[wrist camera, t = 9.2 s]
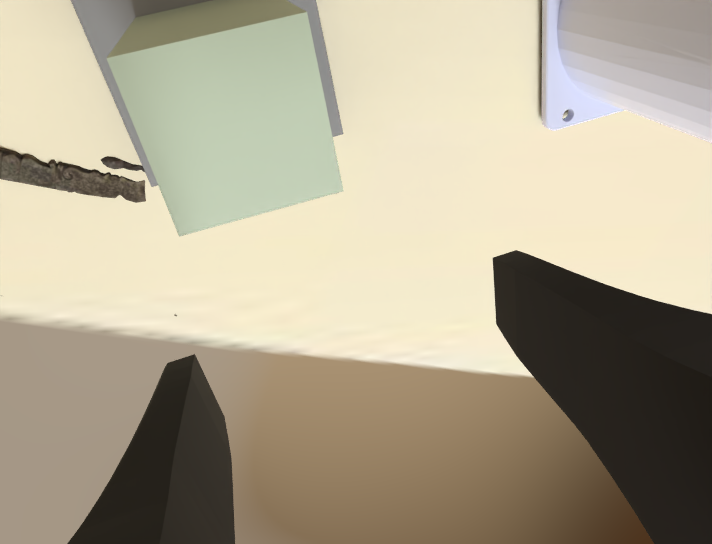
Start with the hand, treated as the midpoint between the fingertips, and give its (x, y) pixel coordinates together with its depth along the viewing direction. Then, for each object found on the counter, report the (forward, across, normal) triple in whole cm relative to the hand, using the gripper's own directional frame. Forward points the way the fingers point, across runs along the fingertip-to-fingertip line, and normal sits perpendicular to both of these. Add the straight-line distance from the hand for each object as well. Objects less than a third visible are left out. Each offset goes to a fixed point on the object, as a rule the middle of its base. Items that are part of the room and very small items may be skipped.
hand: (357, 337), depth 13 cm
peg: (+9, +1, -5) cm, 10 cm away
